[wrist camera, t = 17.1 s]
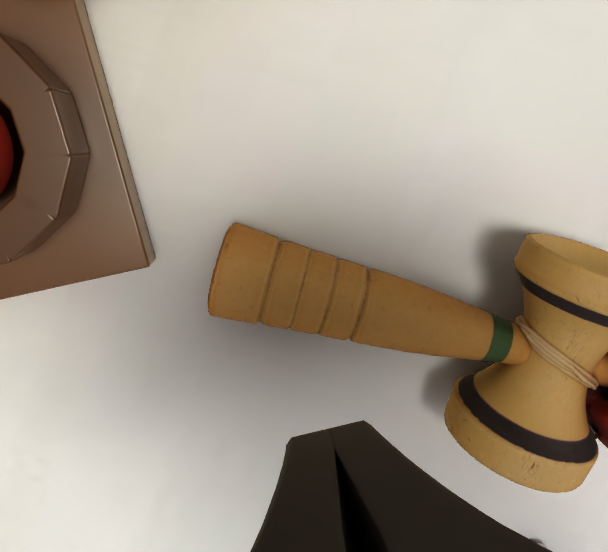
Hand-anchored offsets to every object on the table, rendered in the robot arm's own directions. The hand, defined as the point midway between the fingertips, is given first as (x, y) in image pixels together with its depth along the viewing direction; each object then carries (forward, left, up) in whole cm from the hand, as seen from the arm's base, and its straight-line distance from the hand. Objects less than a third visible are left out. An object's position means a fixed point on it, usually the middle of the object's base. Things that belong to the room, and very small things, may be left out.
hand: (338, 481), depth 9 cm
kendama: (-2, -6, -11) cm, 12 cm away
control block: (+7, +8, -10) cm, 15 cm away
